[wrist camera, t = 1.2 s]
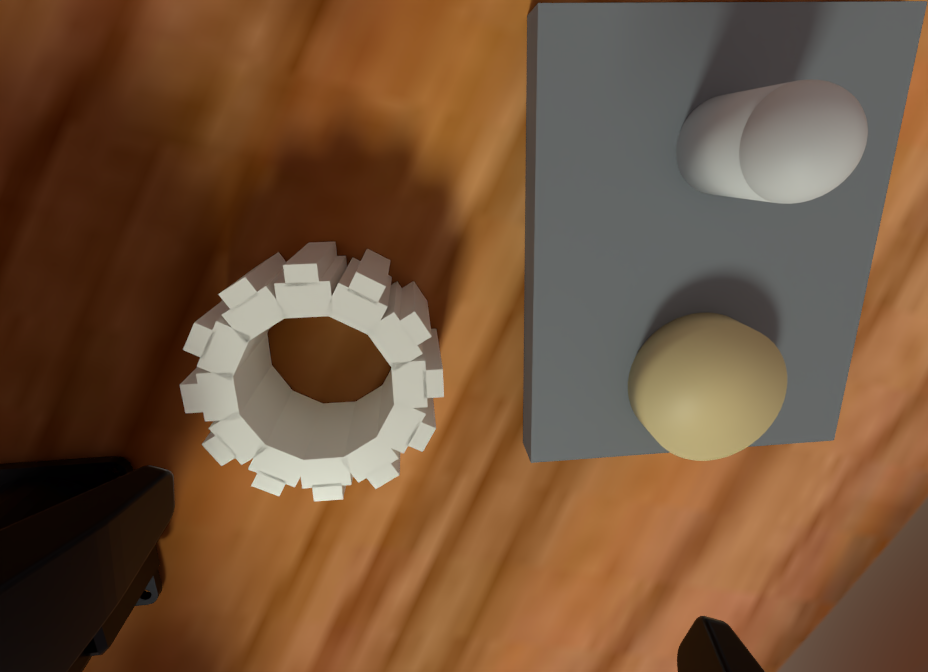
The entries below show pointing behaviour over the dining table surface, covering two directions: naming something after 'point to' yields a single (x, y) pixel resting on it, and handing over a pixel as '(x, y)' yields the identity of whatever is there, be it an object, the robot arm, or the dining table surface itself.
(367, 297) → the planet gear
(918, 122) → the dining table surface
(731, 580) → the dining table surface
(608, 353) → the carrier board
